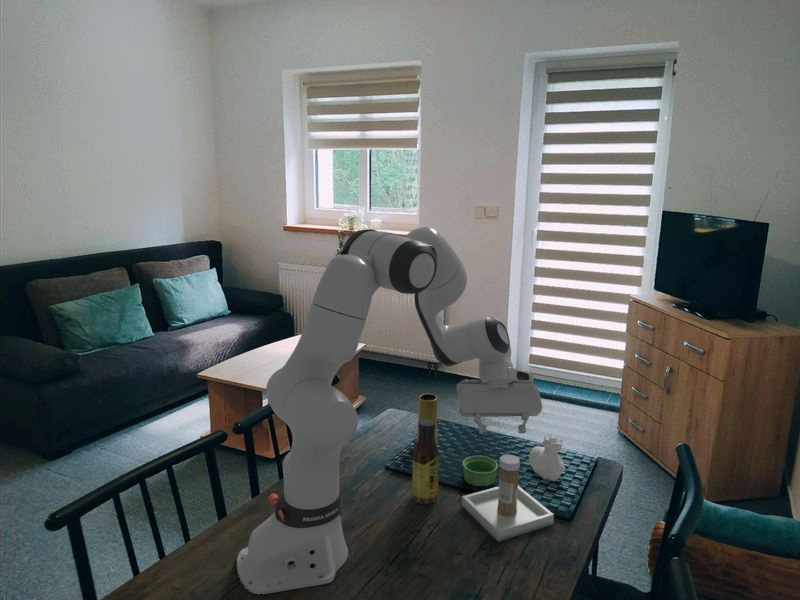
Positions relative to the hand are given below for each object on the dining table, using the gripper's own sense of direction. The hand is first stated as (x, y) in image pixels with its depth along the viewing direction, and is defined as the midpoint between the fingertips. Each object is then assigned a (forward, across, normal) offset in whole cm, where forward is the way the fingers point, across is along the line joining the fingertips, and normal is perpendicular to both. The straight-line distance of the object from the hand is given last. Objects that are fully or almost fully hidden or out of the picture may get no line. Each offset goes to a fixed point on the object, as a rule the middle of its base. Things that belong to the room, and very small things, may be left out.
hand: (502, 432), depth 143 cm
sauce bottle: (+13, -19, +10) cm, 25 cm away
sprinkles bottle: (+17, 0, +5) cm, 18 cm away
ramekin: (+7, -4, +17) cm, 19 cm away
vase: (-7, -16, +31) cm, 35 cm away
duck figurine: (+5, +15, +19) cm, 24 cm away
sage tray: (+18, 0, +5) cm, 19 cm away
